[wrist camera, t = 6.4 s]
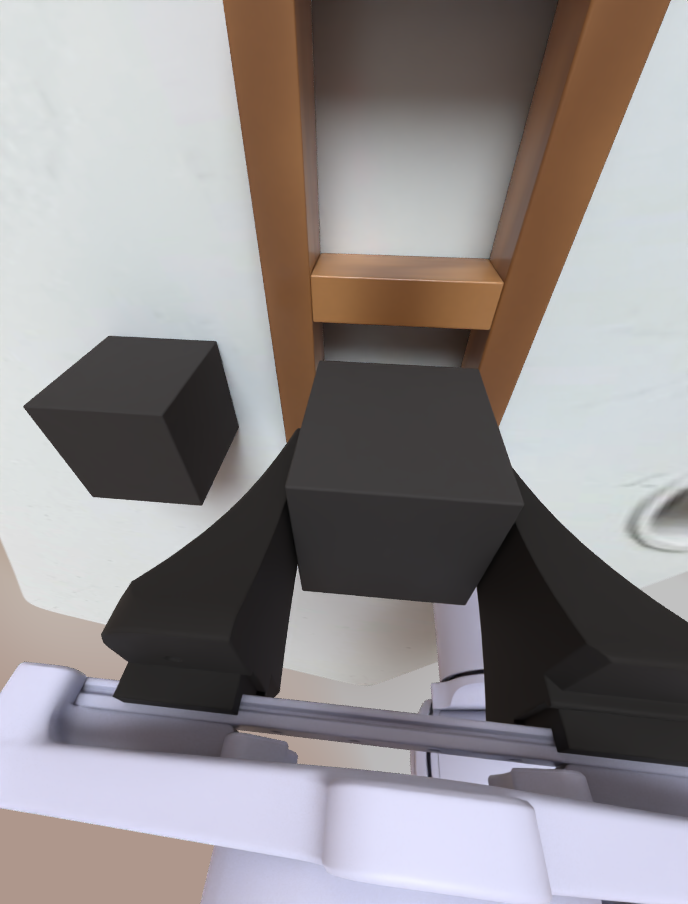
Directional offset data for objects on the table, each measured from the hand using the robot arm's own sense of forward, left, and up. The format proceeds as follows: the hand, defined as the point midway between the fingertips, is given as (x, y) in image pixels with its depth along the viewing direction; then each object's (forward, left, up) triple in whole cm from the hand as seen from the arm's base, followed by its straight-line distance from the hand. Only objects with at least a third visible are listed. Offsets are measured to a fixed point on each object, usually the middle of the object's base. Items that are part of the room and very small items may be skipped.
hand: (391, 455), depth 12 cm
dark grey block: (0, 0, -2) cm, 2 cm away
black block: (+3, +10, -6) cm, 12 cm away
